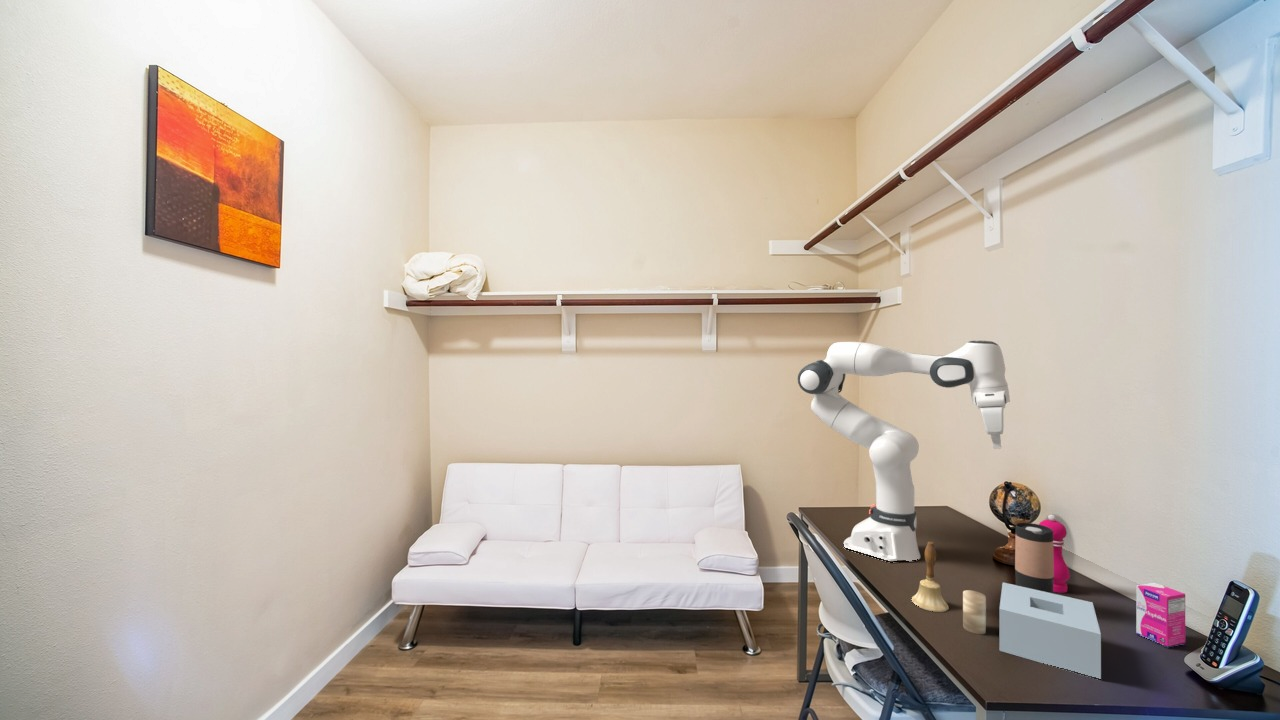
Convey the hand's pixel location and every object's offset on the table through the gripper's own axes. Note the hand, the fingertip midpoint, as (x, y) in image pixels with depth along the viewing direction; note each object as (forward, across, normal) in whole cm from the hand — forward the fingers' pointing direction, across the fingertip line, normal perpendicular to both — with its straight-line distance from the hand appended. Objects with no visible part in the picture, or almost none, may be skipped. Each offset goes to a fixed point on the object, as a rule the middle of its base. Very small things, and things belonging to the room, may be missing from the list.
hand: (997, 445), depth 140 cm
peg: (+36, +36, -9) cm, 52 cm away
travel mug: (+38, +15, +3) cm, 41 cm away
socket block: (+37, +36, +4) cm, 52 cm away
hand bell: (+35, +29, -19) cm, 49 cm away
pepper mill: (+40, -1, +8) cm, 41 cm away
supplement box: (+41, +18, +25) cm, 51 cm away
